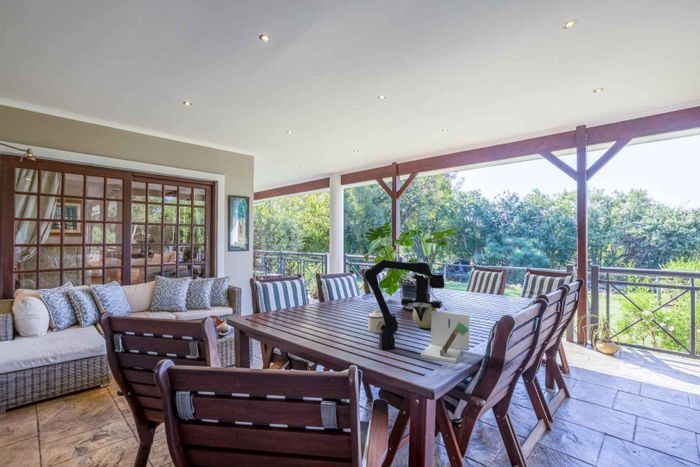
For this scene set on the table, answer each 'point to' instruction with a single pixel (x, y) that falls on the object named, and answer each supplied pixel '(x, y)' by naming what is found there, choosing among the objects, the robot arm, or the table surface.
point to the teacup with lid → (375, 322)
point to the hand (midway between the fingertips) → (421, 320)
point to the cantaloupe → (424, 318)
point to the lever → (451, 339)
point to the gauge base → (447, 336)
